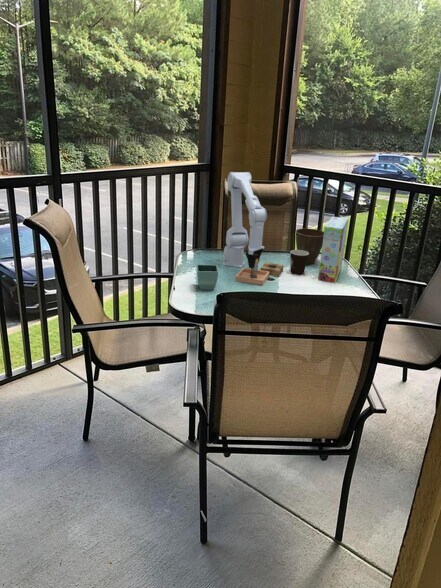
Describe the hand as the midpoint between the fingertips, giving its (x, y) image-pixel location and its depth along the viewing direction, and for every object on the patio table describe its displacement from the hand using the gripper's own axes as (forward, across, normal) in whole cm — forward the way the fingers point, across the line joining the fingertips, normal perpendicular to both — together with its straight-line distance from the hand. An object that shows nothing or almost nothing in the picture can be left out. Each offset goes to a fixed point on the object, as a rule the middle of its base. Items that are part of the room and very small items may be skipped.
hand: (253, 265), depth 206 cm
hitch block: (+6, +12, -6) cm, 15 cm away
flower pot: (+7, -20, +15) cm, 25 cm away
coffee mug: (+7, +20, -17) cm, 27 cm away
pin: (+6, 0, 0) cm, 6 cm away
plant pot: (+7, +36, -19) cm, 41 cm away
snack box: (+7, +23, -32) cm, 40 cm away
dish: (+6, 0, 0) cm, 6 cm away
